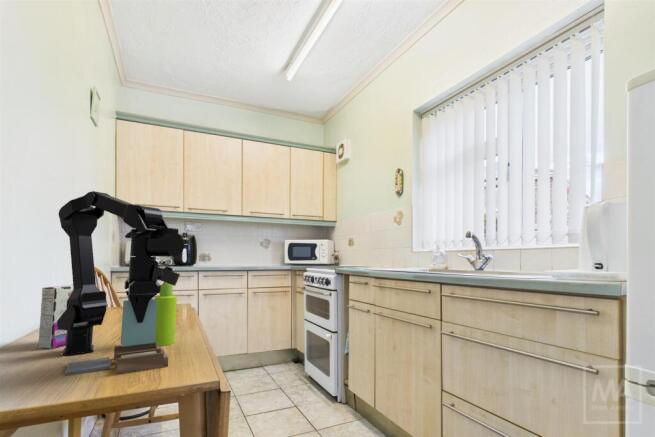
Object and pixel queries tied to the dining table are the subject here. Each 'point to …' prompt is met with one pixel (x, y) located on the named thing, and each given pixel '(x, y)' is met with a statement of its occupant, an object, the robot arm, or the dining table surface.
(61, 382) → the dining table surface
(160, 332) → the soap dispenser
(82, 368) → the slate mat
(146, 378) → the dining table surface
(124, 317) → the light blue rectangular prism
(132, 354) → the gray notched block
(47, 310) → the candy bar box
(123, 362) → the walnut rack
